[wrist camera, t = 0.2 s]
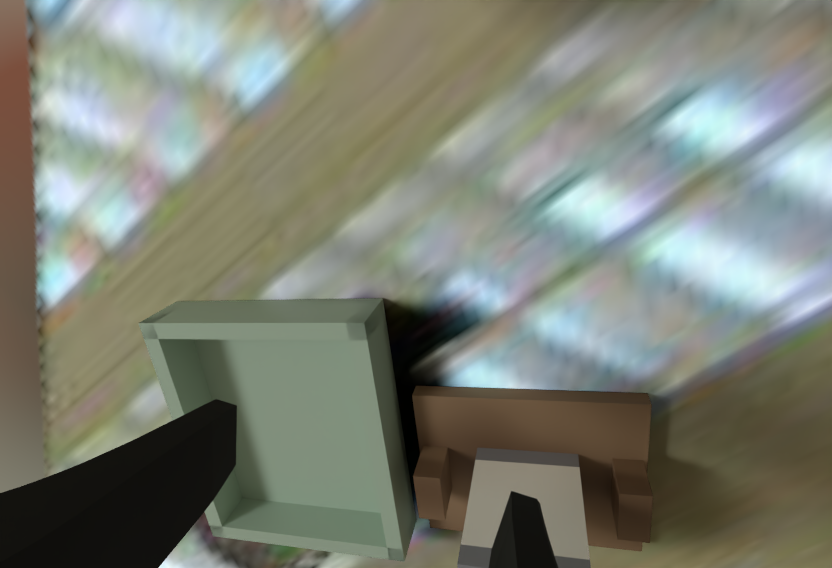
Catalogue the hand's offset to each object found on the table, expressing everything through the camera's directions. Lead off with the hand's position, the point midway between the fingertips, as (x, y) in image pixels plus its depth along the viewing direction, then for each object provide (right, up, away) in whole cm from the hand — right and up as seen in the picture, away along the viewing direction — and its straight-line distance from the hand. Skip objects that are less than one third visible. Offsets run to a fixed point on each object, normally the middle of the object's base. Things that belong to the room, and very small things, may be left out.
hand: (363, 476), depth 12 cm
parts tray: (-5, -2, +13) cm, 14 cm away
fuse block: (+7, -4, +11) cm, 13 cm away
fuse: (+6, -4, +10) cm, 12 cm away
